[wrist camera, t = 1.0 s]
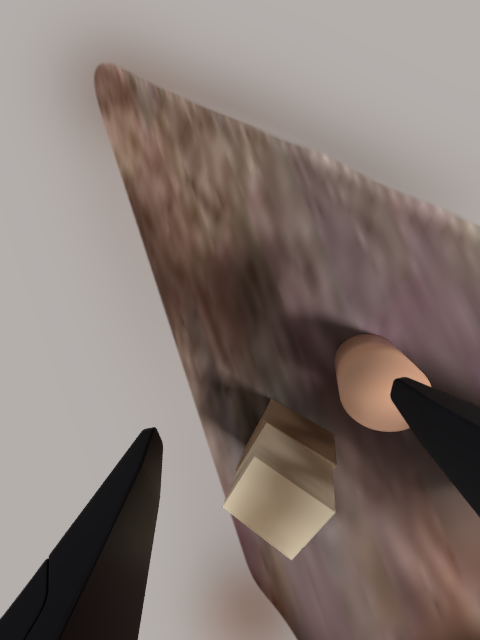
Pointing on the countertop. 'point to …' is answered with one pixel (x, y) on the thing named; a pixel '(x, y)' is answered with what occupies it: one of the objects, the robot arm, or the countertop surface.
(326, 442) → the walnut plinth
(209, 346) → the countertop surface
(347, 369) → the tan rounded piece
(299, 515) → the maple block
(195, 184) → the countertop surface
